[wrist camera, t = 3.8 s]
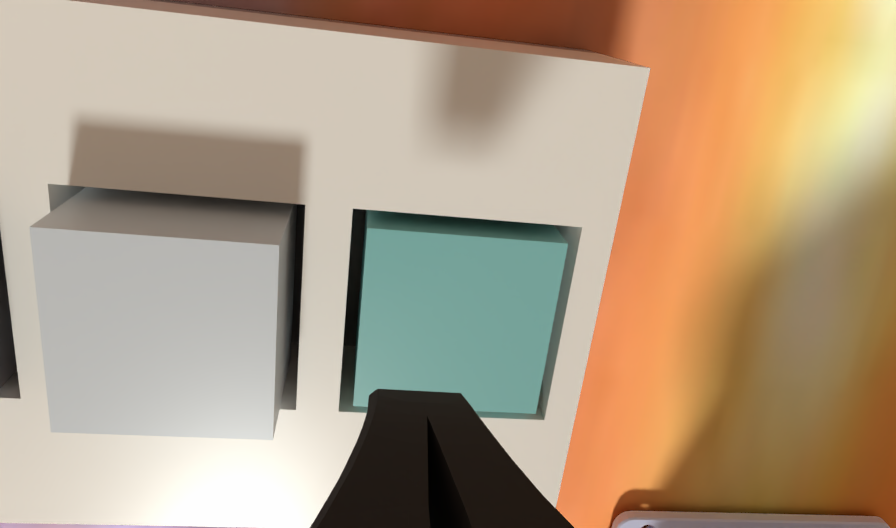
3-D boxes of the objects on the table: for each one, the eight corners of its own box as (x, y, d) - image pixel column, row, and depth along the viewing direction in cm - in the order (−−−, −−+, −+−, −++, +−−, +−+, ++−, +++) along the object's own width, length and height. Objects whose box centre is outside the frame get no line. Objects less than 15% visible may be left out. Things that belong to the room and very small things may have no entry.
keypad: (588, 50, 17) (650, 68, 13) (518, 434, 21) (550, 532, 17) (-205, -44, 14) (-406, -55, 11) (-113, 410, 18) (-236, 518, 14)
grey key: (297, 193, 15) (279, 245, 12) (290, 357, 16) (272, 439, 13) (100, 177, 14) (29, 226, 11) (110, 348, 16) (50, 432, 13)
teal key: (533, 198, 17) (568, 243, 14) (509, 344, 18) (536, 413, 15) (367, 184, 16) (367, 227, 13) (355, 336, 18) (352, 406, 15)
